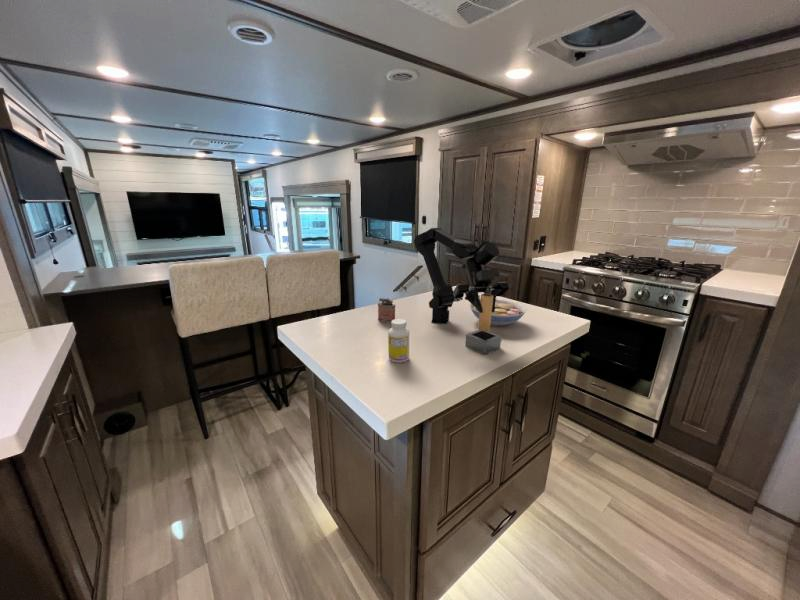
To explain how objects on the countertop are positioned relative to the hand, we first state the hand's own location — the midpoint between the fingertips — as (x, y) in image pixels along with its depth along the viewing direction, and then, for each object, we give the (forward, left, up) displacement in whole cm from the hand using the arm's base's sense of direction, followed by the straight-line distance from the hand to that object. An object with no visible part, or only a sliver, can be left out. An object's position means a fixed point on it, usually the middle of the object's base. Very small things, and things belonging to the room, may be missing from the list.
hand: (487, 312), depth 104 cm
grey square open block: (-1, +1, -13) cm, 13 cm away
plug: (-1, +1, -7) cm, 7 cm away
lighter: (-41, +17, -14) cm, 46 cm away
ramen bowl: (+4, +27, -14) cm, 31 cm away
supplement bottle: (-27, -15, -14) cm, 33 cm away
